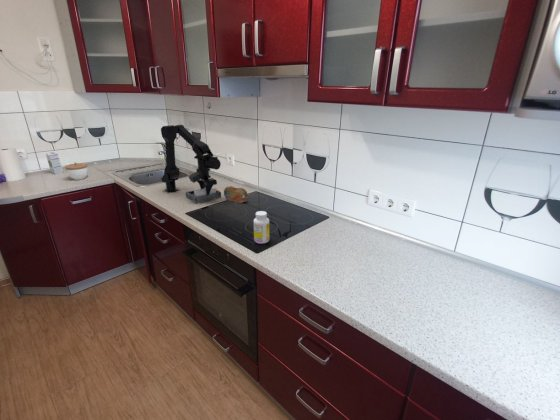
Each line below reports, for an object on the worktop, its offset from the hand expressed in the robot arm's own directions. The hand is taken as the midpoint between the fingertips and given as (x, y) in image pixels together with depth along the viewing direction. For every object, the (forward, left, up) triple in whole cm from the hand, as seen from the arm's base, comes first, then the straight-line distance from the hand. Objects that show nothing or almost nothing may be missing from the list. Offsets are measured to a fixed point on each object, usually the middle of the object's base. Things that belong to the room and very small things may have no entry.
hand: (205, 193), depth 173 cm
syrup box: (-114, -60, -4) cm, 129 cm away
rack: (-3, 0, -3) cm, 5 cm away
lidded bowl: (-89, -50, -4) cm, 103 cm away
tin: (+14, +12, -4) cm, 18 cm away
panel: (0, 0, -2) cm, 3 cm away
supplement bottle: (+61, -5, -4) cm, 61 cm away
